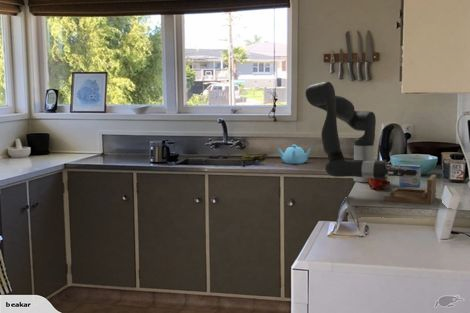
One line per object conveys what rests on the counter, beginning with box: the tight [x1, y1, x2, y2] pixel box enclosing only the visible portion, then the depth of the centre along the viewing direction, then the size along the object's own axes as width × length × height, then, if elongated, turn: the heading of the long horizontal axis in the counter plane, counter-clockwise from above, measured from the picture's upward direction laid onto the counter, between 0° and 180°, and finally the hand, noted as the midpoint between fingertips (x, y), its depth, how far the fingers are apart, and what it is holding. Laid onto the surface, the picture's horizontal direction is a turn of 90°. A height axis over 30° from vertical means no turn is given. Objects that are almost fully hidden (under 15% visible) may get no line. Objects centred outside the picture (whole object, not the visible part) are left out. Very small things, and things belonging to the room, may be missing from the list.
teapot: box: [277, 144, 312, 165], centre depth 358 cm, size 15×15×11 cm
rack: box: [383, 174, 437, 205], centre depth 245 cm, size 14×18×10 cm
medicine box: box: [398, 163, 422, 189], centre depth 244 cm, size 8×4×9 cm, turn 69°
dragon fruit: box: [366, 176, 391, 191], centre depth 270 cm, size 8×8×12 cm
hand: (417, 172), depth 243 cm, fingers closed on medicine box, 4 cm apart
